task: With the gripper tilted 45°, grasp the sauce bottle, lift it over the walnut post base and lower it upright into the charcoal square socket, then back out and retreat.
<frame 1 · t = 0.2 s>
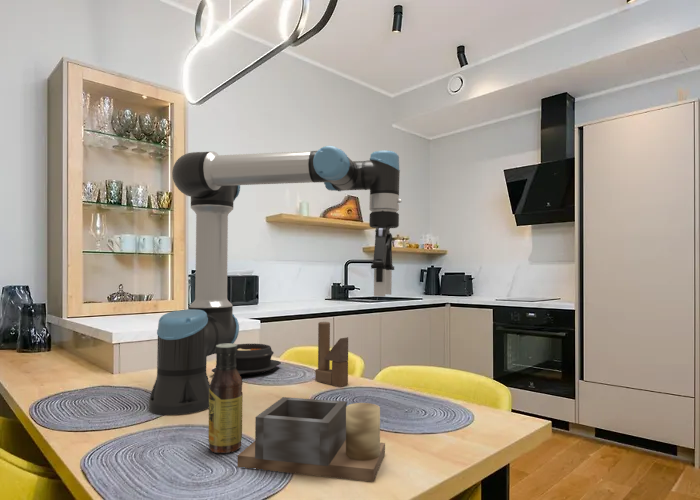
hand: (383, 295, 121), 28 cm above the table, tool pointing down, fingers open, 13 cm apart
post socket: (303, 459, 86), on the table
casserole: (247, 372, 158), on the table
wooden block: (331, 384, 143), on the table
sauce bottle: (225, 450, 91), on the table
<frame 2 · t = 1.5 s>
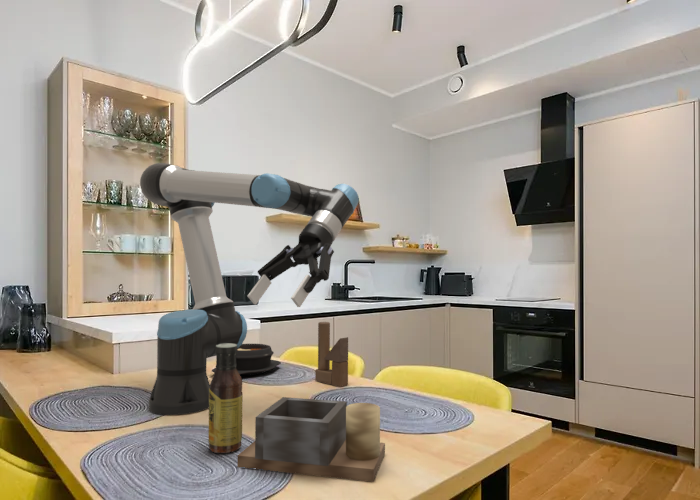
hand: (272, 301, 100), 27 cm above the table, tool tilted 45°, fingers open, 13 cm apart
nothing on the table moved.
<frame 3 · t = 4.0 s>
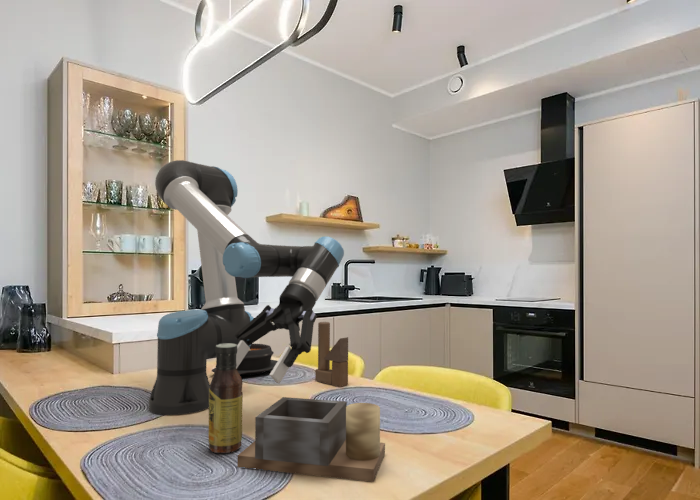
hand: (250, 374, 93), 14 cm above the table, tool tilted 45°, fingers open, 13 cm apart
nothing on the table moved.
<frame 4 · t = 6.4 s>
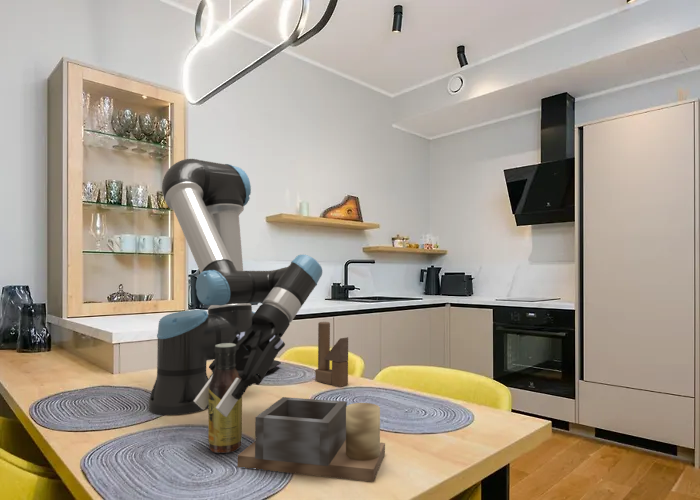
hand: (209, 408, 88), 8 cm above the table, tool tilted 45°, fingers closed on sauce bottle, 6 cm apart
sauce bottle: (225, 450, 91), on the table, touching gripper
everything else where it was.
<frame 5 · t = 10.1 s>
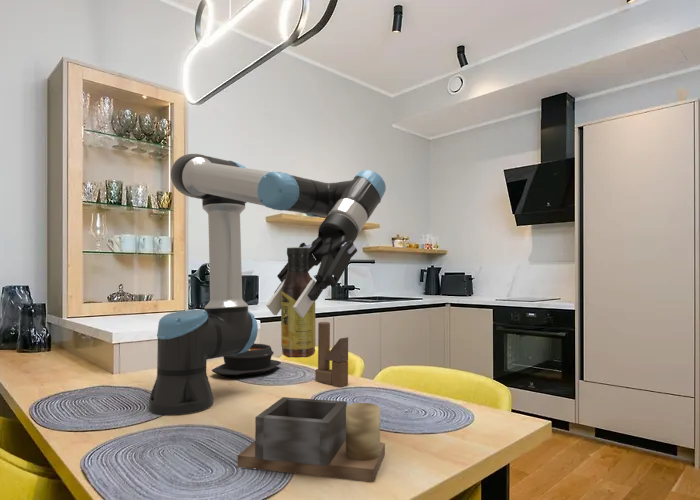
hand: (284, 311, 84), 27 cm above the table, tool tilted 45°, fingers closed on sauce bottle, 6 cm apart
sauce bottle: (298, 357, 87), point 18 cm above the table, touching gripper
everything else where it was.
when the fingers open (12 cm above the table, at t = 14.0 s): sauce bottle drops 2 cm, resting on post socket.
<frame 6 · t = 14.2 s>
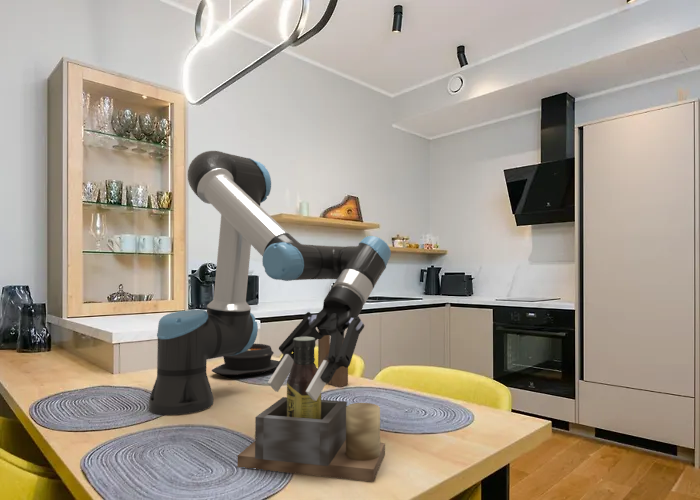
hand: (291, 391, 84), 13 cm above the table, tool tilted 45°, fingers open, 9 cm apart
sauce bottle: (304, 448, 86), point 2 cm above the table, touching post socket
everything else where it was.
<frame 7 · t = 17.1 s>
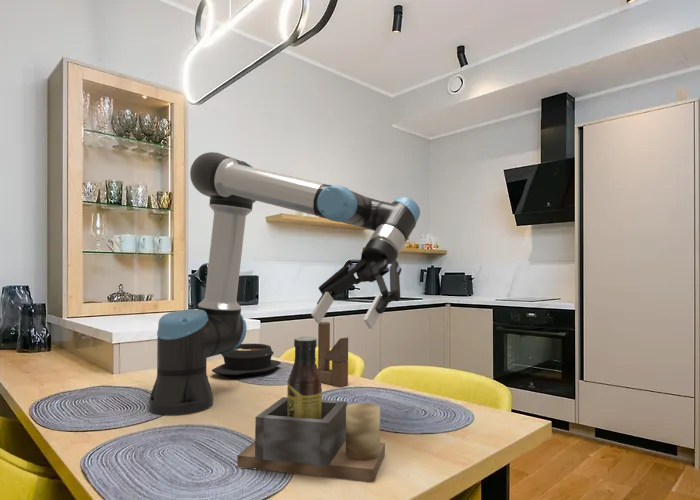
hand: (340, 321, 96), 24 cm above the table, tool tilted 45°, fingers open, 13 cm apart
nothing on the table moved.
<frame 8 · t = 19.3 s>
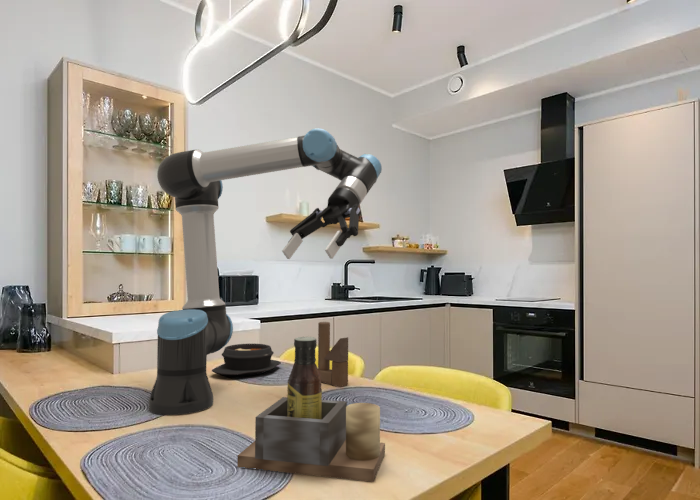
hand: (306, 254, 110), 38 cm above the table, tool tilted 45°, fingers open, 13 cm apart
nothing on the table moved.
at the end: sauce bottle 0.1 cm off-centre on the post socket, point 1.8 cm above the post socket's base; sauce bottle tilted 0°; the gripper is holding nothing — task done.
